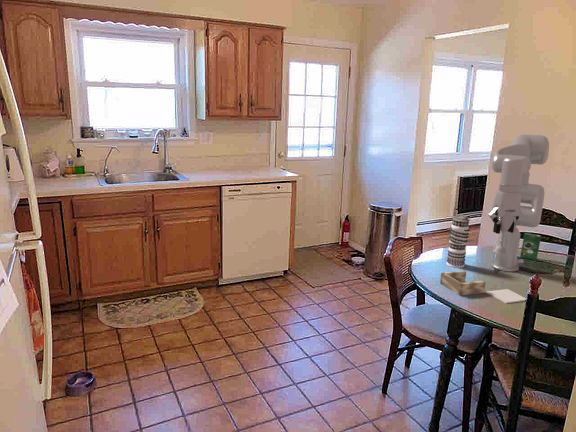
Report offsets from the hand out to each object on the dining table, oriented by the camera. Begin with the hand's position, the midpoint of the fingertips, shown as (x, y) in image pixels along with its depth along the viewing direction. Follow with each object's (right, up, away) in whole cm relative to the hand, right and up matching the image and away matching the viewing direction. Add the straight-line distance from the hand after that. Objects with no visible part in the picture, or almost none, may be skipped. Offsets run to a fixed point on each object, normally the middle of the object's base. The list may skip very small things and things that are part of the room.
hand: (503, 231), depth 183 cm
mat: (+3, -27, +4) cm, 28 cm away
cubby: (-12, -25, +12) cm, 30 cm away
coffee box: (+40, -16, +55) cm, 69 cm away
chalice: (0, -9, +2) cm, 9 cm away
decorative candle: (-4, -18, +41) cm, 45 cm away
